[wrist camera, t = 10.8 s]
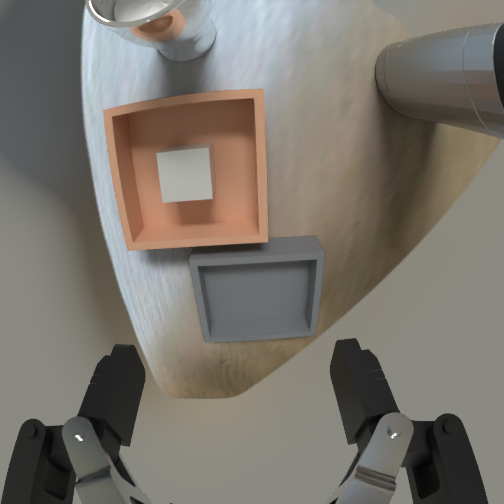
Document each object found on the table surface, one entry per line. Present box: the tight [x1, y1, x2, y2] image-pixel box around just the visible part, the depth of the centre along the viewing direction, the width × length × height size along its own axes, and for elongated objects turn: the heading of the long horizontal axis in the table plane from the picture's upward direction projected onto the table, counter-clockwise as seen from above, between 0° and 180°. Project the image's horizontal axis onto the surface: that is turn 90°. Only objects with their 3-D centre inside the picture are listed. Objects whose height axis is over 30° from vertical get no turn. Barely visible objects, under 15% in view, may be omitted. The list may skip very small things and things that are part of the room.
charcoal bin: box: [189, 236, 325, 343], centre depth 34 cm, size 14×12×4 cm
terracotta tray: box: [103, 89, 268, 251], centre depth 26 cm, size 14×14×5 cm
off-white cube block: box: [156, 142, 216, 203], centre depth 25 cm, size 4×4×4 cm
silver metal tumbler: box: [86, 0, 216, 61], centre depth 15 cm, size 7×7×15 cm
